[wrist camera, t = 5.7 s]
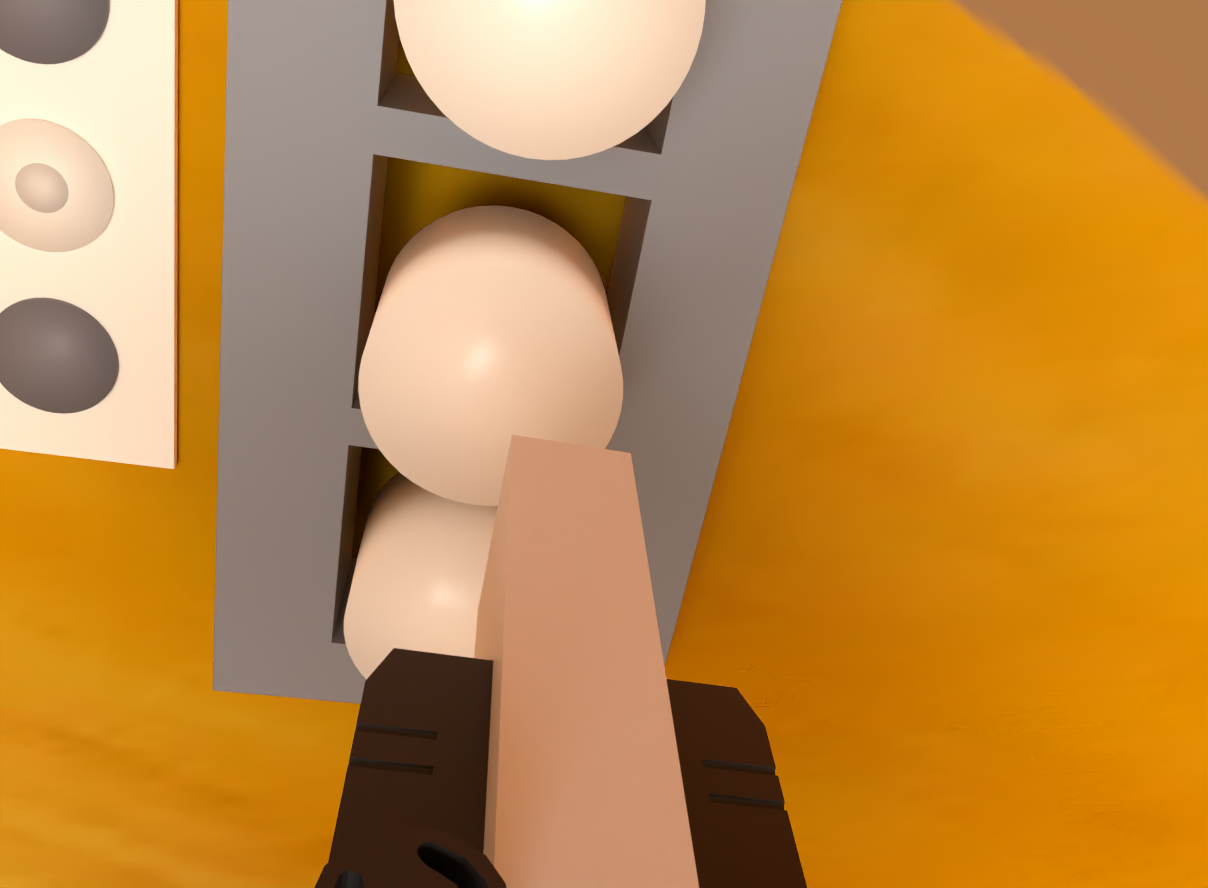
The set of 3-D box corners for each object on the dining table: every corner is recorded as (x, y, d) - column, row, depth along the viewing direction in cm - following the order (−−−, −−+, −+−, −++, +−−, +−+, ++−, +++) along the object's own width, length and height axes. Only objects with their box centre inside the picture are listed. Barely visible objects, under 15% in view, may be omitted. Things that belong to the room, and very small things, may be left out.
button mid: (382, 365, 26) (348, 489, 21) (401, 164, 24) (369, 247, 19) (581, 392, 27) (597, 520, 22) (619, 200, 25) (646, 289, 20)
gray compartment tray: (245, 600, 32) (213, 690, 29) (282, -365, 22) (237, -410, 18) (634, 641, 34) (647, 729, 31) (849, -232, 23) (908, -250, 20)
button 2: (366, 561, 31) (336, 703, 26) (382, 407, 29) (351, 529, 24) (538, 580, 32) (542, 722, 27) (565, 432, 30) (576, 554, 24)
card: (-53, 436, 29) (-62, 445, 29) (-121, -195, 22) (-135, -196, 22) (176, 463, 30) (171, 473, 30) (178, -135, 23) (171, -135, 23)
